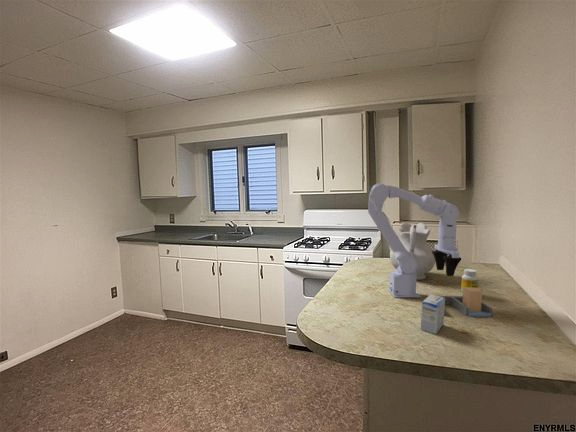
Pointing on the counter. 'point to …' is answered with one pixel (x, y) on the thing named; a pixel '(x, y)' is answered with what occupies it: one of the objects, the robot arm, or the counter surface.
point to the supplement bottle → (469, 279)
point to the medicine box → (432, 313)
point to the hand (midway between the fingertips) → (444, 272)
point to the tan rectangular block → (472, 298)
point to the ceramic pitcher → (416, 247)
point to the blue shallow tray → (457, 303)
